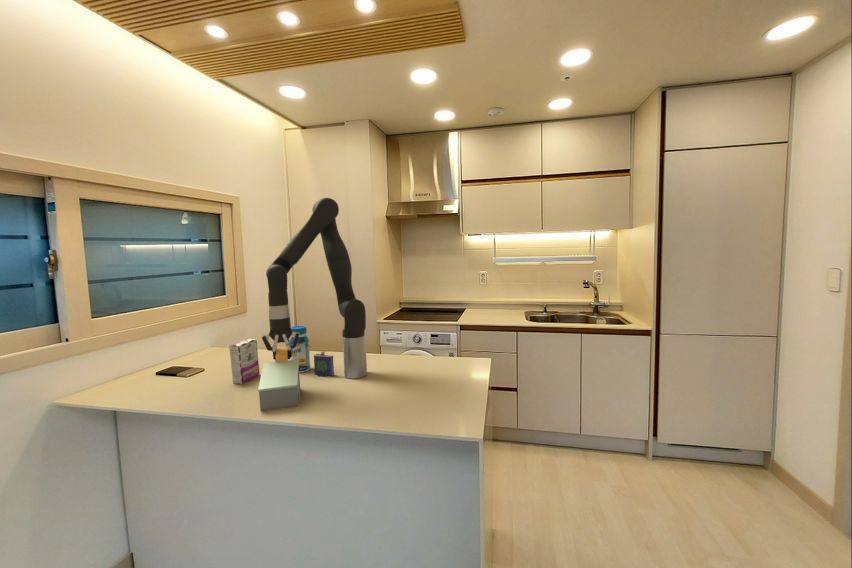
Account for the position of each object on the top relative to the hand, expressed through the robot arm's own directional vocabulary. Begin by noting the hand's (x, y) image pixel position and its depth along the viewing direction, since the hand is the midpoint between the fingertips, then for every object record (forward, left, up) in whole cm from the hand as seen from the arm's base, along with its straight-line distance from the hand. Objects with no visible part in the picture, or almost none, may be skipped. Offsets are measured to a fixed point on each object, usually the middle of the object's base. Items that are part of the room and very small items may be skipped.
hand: (282, 359), depth 140 cm
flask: (-15, -11, -12) cm, 22 cm away
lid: (0, +8, -2) cm, 8 cm away
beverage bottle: (-5, -22, -12) cm, 25 cm away
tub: (0, +11, -12) cm, 16 cm away
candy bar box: (+17, -18, -12) cm, 27 cm away
